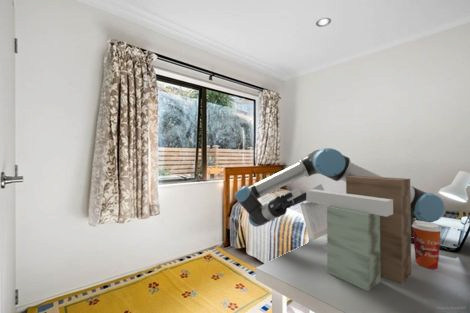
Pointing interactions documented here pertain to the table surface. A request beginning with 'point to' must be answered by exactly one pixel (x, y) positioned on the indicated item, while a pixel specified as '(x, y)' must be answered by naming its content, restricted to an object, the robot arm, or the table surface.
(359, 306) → the table surface
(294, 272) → the table surface
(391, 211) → the white block
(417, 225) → the paper cup
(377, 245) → the wooden boards
